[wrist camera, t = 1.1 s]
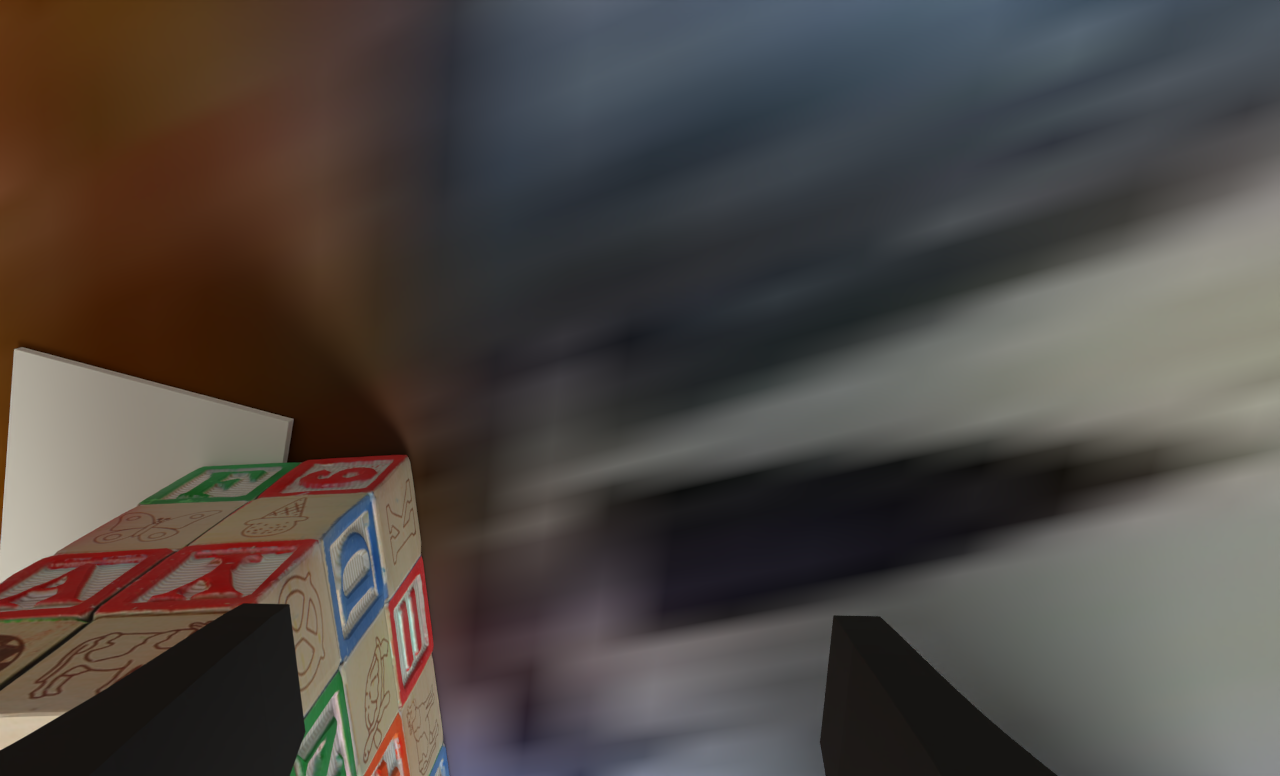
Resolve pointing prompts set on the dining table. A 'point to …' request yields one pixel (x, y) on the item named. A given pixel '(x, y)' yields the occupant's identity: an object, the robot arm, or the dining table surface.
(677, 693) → the dining table surface
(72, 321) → the dining table surface
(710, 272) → the dining table surface
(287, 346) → the dining table surface
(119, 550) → the stack of blocks
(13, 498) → the mat
